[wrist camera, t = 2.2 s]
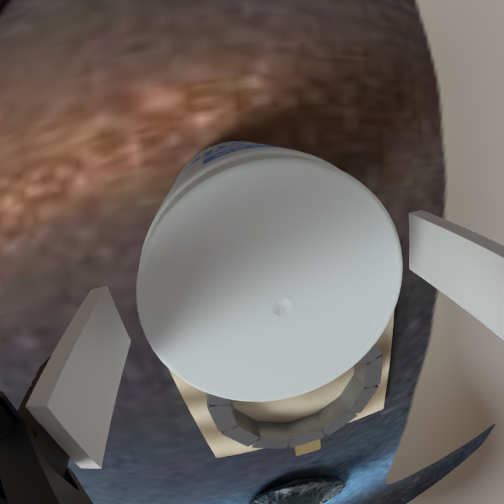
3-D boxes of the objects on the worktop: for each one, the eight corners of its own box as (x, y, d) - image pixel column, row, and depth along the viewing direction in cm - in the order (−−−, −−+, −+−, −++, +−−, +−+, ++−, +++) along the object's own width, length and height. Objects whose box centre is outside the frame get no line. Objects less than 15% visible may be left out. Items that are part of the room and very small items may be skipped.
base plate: (148, 311, 25) (146, 319, 24) (388, 250, 27) (395, 255, 26) (215, 450, 33) (216, 457, 32) (379, 402, 35) (383, 408, 34)
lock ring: (175, 313, 24) (174, 331, 22) (372, 263, 26) (387, 274, 23) (235, 453, 33) (238, 469, 30) (366, 415, 34) (373, 428, 32)
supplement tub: (243, 115, 21) (316, 79, 7) (319, 210, 25) (441, 295, 11) (143, 203, 22) (72, 300, 9) (227, 287, 26) (260, 435, 12)
